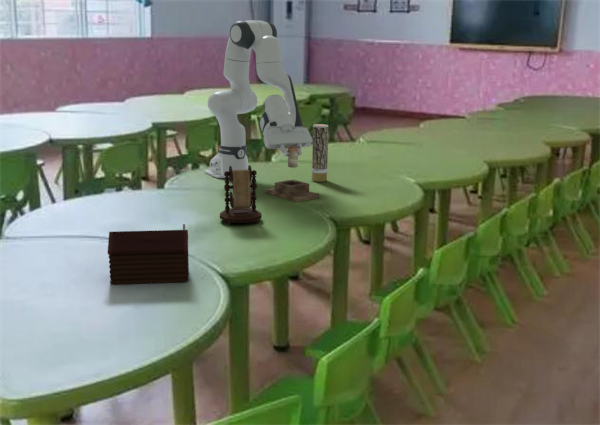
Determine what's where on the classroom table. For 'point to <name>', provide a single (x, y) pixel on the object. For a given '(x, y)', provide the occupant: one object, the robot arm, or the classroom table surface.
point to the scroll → (240, 197)
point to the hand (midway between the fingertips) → (293, 154)
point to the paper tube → (320, 152)
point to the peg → (293, 156)
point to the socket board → (292, 190)
